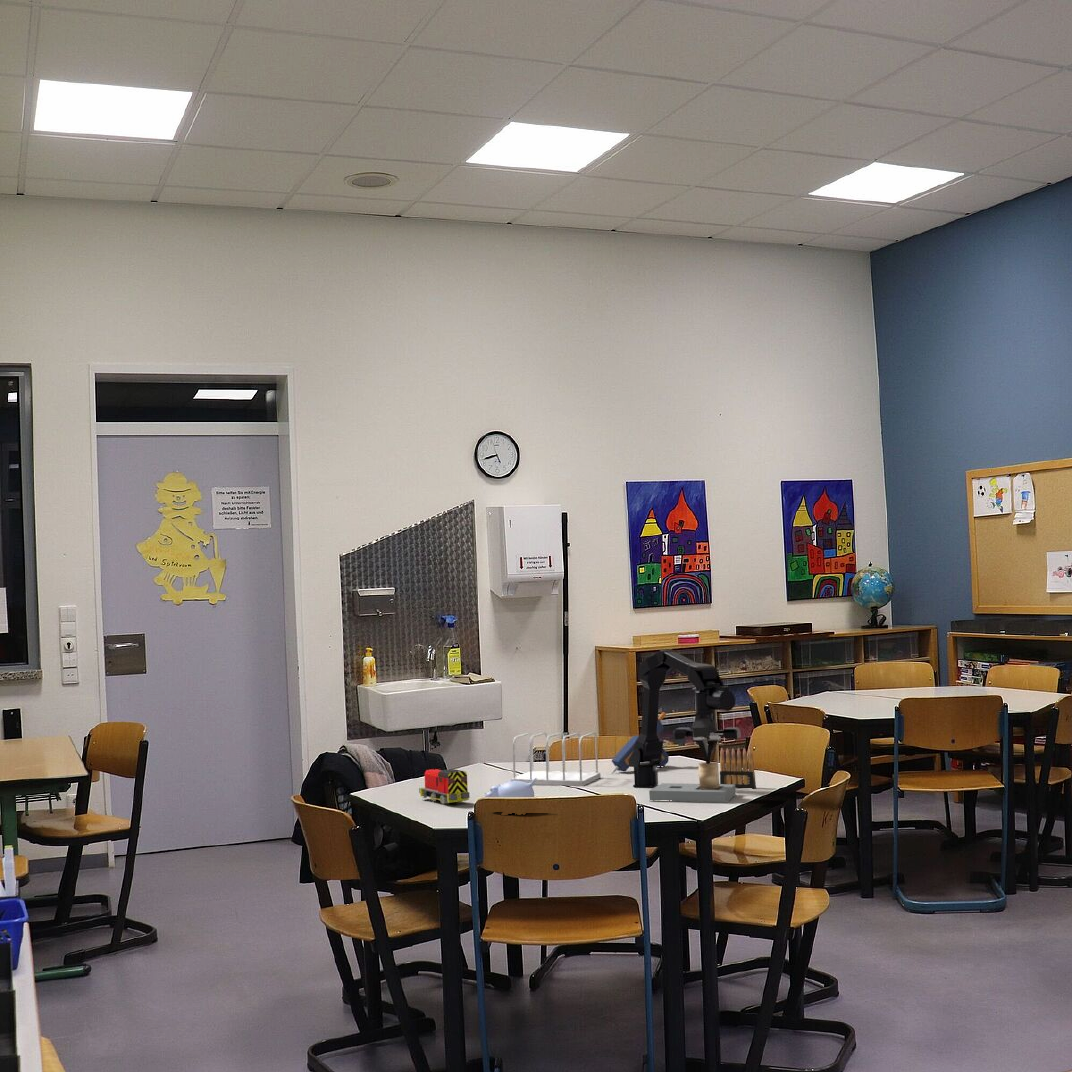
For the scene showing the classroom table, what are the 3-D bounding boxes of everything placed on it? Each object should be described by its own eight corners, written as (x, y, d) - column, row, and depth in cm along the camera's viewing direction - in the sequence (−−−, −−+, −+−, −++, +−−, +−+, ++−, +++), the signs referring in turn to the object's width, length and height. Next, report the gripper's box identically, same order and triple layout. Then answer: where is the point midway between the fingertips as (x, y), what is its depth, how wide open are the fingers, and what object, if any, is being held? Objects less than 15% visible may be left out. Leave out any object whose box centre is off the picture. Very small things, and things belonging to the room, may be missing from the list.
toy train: (450, 807, 340) (449, 772, 341) (418, 800, 356) (417, 766, 357) (470, 804, 344) (469, 770, 345) (438, 797, 360) (437, 764, 361)
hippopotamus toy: (491, 808, 335) (490, 775, 335) (542, 809, 331) (541, 775, 332) (480, 815, 324) (479, 781, 325) (532, 816, 321) (531, 781, 321)
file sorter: (510, 784, 380) (508, 736, 381) (531, 777, 396) (529, 730, 397) (583, 786, 370) (581, 736, 371) (601, 778, 386) (599, 730, 387)
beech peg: (698, 799, 336) (696, 764, 336) (702, 796, 341) (701, 762, 342) (717, 800, 334) (715, 764, 334) (722, 797, 339) (720, 762, 340)
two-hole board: (649, 801, 337) (649, 790, 337) (662, 793, 350) (662, 783, 350) (725, 802, 329) (724, 792, 329) (735, 794, 342) (735, 784, 342)
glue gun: (626, 801, 399) (604, 768, 395) (672, 740, 417) (652, 708, 412) (638, 802, 394) (616, 768, 390) (685, 740, 412) (664, 708, 407)
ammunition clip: (720, 787, 356) (718, 748, 357) (721, 787, 357) (719, 747, 358) (754, 788, 351) (752, 748, 352) (756, 787, 353) (754, 747, 354)
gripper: (667, 712, 335) (669, 767, 334) (731, 711, 328) (734, 767, 327) (676, 708, 345) (679, 761, 344) (739, 707, 338) (742, 762, 337)
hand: (708, 763), depth 338 cm, fingers closed, pressing on beech peg
